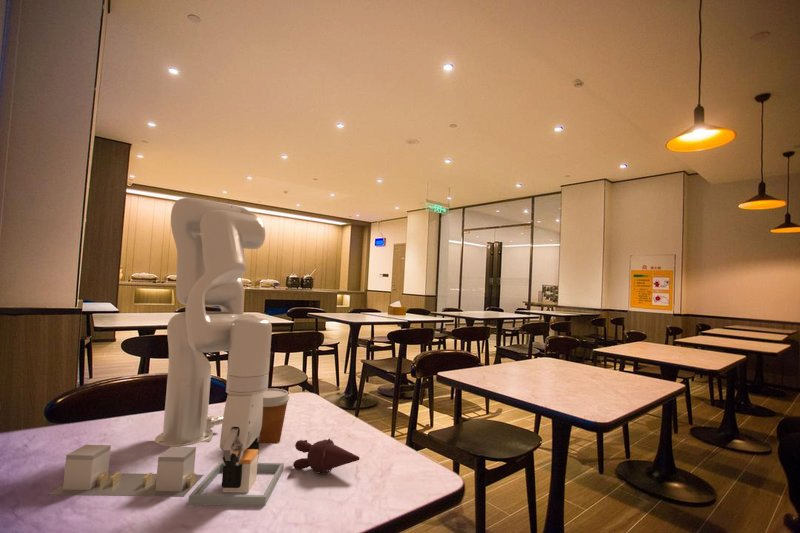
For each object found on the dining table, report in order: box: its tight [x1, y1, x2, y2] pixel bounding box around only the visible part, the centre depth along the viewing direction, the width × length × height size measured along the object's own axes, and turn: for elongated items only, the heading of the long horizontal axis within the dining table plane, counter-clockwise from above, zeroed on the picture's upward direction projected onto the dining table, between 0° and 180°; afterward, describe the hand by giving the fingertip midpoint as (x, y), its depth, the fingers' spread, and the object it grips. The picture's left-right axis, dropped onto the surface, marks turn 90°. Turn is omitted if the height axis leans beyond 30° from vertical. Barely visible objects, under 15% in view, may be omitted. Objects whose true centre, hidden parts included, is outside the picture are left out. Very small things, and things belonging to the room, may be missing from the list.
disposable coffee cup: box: [256, 388, 291, 445], centre depth 96 cm, size 10×10×12 cm
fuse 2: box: [155, 446, 197, 491], centre depth 72 cm, size 5×5×6 cm
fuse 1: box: [62, 444, 112, 490], centre depth 71 cm, size 5×5×6 cm
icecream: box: [292, 438, 360, 475], centre depth 82 cm, size 7×7×15 cm
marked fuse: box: [222, 449, 259, 493], centre depth 72 cm, size 5×5×6 cm
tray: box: [187, 461, 285, 507], centre depth 72 cm, size 13×13×2 cm
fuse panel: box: [47, 471, 204, 498], centre depth 71 cm, size 8×23×3 cm, turn 94°
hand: (241, 473), depth 72 cm, fingers open, 9 cm apart
